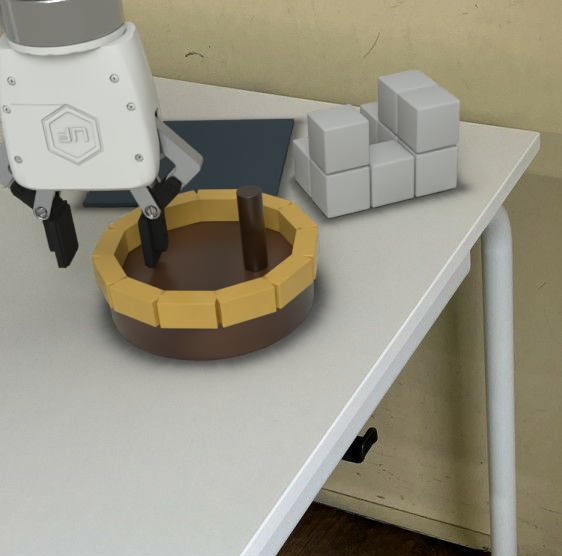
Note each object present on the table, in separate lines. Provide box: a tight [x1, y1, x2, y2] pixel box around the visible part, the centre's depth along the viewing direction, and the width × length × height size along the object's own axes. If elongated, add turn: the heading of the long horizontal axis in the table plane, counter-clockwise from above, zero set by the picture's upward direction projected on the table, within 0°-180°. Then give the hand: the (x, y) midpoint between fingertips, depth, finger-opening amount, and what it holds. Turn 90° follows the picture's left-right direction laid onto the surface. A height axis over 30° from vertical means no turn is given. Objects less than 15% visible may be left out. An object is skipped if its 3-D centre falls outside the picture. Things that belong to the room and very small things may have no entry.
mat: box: [82, 118, 295, 208], centre depth 94 cm, size 17×17×1 cm
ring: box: [91, 189, 321, 329], centre depth 73 cm, size 16×16×2 cm
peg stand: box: [109, 185, 315, 361], centre depth 73 cm, size 15×15×9 cm
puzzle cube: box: [292, 68, 461, 219], centre depth 87 cm, size 12×12×8 cm
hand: (111, 256), depth 74 cm, fingers open, 5 cm apart
